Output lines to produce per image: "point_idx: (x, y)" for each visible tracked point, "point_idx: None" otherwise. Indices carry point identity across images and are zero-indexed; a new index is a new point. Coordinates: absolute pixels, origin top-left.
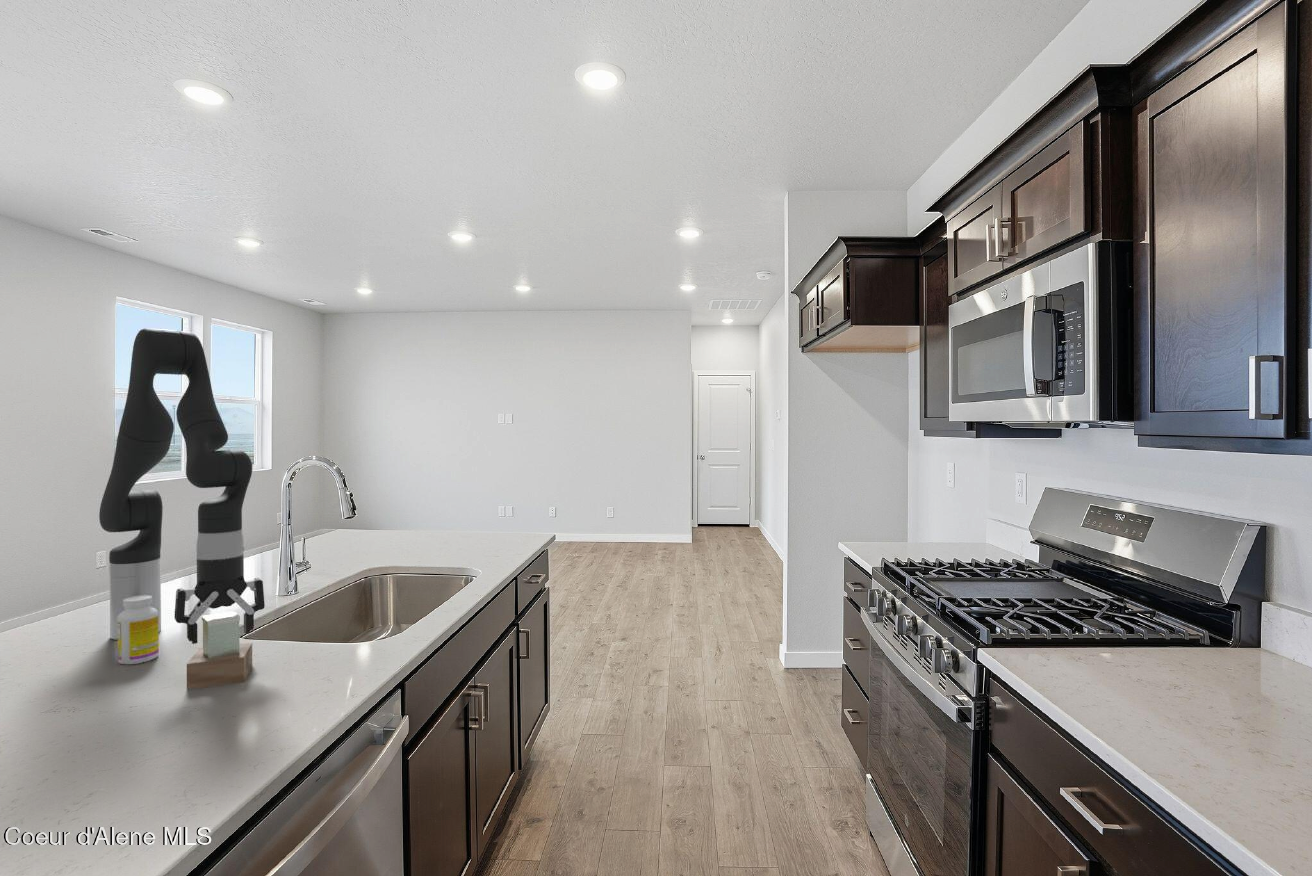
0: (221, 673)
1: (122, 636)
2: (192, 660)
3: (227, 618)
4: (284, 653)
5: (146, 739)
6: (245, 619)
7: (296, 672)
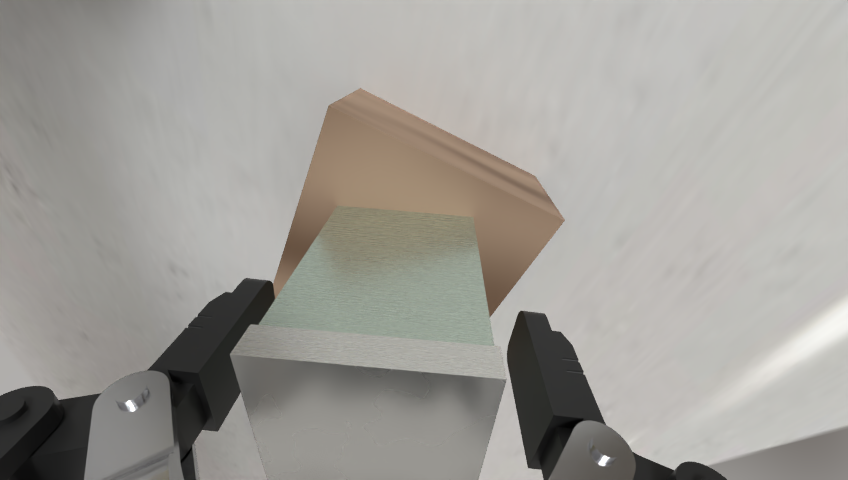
0: None
1: None
2: (289, 276)
3: None
4: (707, 117)
5: (233, 430)
6: (525, 423)
7: (582, 337)
